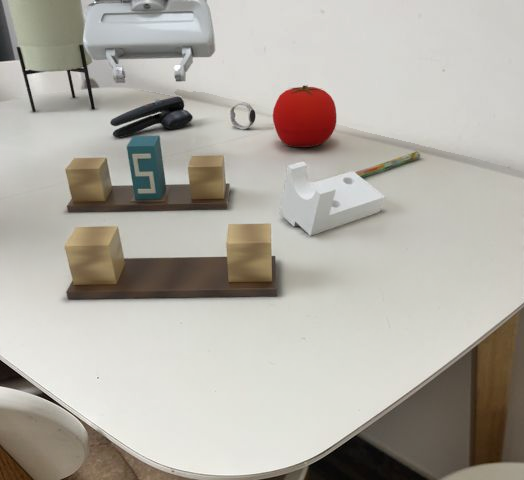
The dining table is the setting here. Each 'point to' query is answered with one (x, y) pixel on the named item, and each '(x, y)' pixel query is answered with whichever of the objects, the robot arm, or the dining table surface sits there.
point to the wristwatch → (250, 116)
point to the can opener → (169, 117)
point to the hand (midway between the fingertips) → (149, 80)
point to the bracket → (326, 200)
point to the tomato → (304, 116)
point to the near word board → (170, 267)
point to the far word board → (122, 199)
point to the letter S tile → (146, 167)
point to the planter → (50, 39)
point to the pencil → (388, 164)
